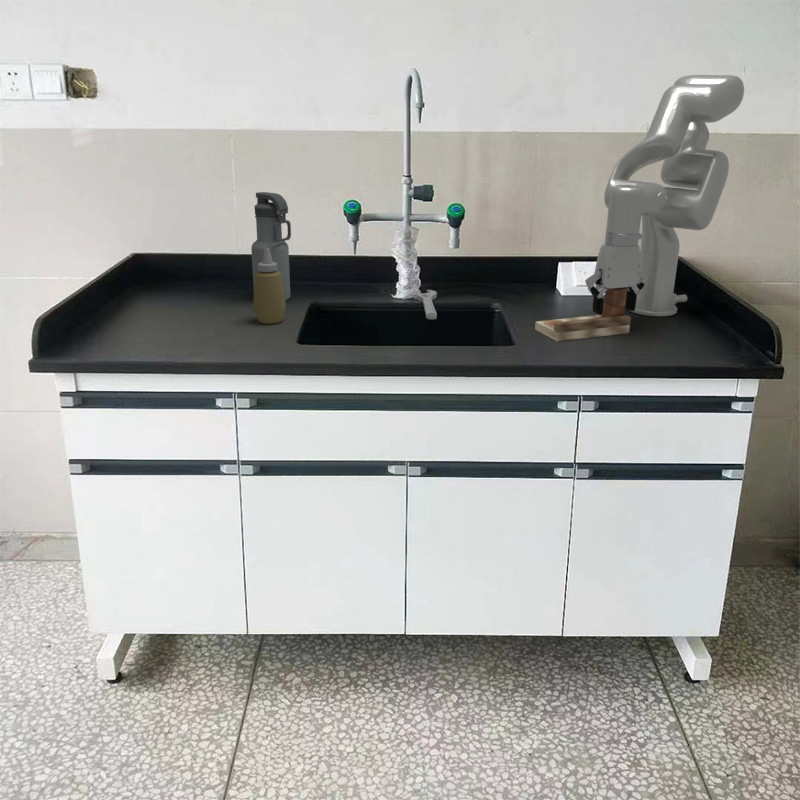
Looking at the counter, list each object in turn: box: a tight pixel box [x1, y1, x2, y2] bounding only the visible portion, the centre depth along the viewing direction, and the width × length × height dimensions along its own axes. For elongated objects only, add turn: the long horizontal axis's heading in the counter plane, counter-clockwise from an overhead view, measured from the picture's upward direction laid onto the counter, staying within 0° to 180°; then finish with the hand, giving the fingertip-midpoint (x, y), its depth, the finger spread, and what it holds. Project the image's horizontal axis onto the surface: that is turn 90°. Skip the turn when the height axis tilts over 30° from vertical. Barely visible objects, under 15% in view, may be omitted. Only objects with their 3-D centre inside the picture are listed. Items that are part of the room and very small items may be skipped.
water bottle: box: [250, 191, 292, 302], centre depth 217 cm, size 10×10×28 cm
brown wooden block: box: [600, 288, 628, 318], centre depth 198 cm, size 4×6×8 cm, turn 21°
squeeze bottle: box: [252, 248, 287, 325], centre depth 199 cm, size 8×8×18 cm
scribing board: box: [534, 314, 632, 342], centre depth 196 cm, size 20×10×4 cm, turn 111°
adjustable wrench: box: [413, 289, 438, 320], centre depth 217 cm, size 25×6×2 cm, turn 178°
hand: (613, 311), depth 198 cm, fingers open, 8 cm apart
